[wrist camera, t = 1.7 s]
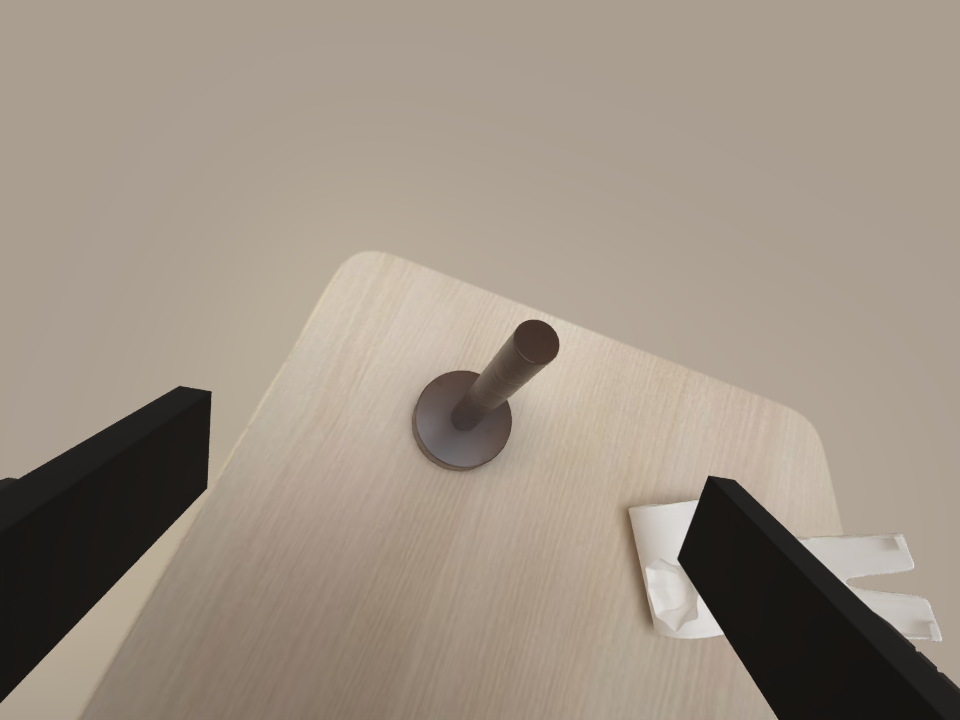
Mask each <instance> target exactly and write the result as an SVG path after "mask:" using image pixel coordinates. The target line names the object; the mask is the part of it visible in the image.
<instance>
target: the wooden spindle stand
mask: <svg viewBox="0 0 960 720" xmlns="http://www.w3.org/2000/svg"><path fill="white" fill-rule="evenodd" d="M558 351H559V339H558V336H557V334H556V332H555V331H554V329H553V328H552V327H551V326H550V325H548V324H547V323H545V322H543V321H540V320H528V321H525V322H523V323H521V324H520V325H519V326H518V327H517V329H516V330H515V331H514V332H513V334H512V335H511V336H510V337H509V339H508V340H507V341H506V343H505V344H504V345H503V346H502V348H501V349H500V350H499V352H498V353H497V354H496V355H495V357H494V358H493V359H492V361H491V362H490V363H489V364H488V366H487V367H486V368H485V370H484V371H483V372H482V373H481V374H478V373H475V372H471V371H453V372H449V373H445V374H443V375H441V376H439V377H437V378H436V379H434V380H433V381H432V382H431V383H429V385H428V386H427V387H426V388H425V389H424V391H423V392H422V394H421V396H420V397H419V400H418V402H417V404H416V407H415V410H414V414H413V422H412V424H413V433H414V437H415V440H416V442H417V444H418V446H419V448H420V449H421V451H422V452H423V453H424V455H425V456H426V457H427V458H428V459H429V460H431V461H432V462H433V463H435V464H436V465H438V466H440V467H443V468H446V469H449V470H455V471H464V470H470V469H474V468H476V467H479V466H481V465H483V464H485V463H487V462H489V461H490V460H492V459H493V458H495V457H496V456H497V455H498V454H499V453H500V452H501V450H502V449H503V448H504V446H505V445H506V443H507V441H508V438H509V435H510V432H511V426H512V417H511V410H510V406H509V404H508V401H507V399H508V398H509V397H510V396H512V395H513V394H514V393H515V392H516V391H517V390H519V389H520V388H521V387H522V386H523V385H524V384H526V383H527V382H528V381H529V380H530V379H531V378H532V377H534V376H535V375H536V374H537V373H538V372H539V371H541V370H542V369H543V368H544V367H545V366H546V365H548V364H549V363H550V362H551V361H552V360H553V359H554V358H555V357H556V356H557V354H558Z"/></svg>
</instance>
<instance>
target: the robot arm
mask: <svg viewBox="0 0 960 720" xmlns="http://www.w3.org/2000/svg"><path fill="white" fill-rule="evenodd" d="M211 393H212V392H211V391H206V390H200V389H194V388H189V387H182V386H179V387H177V388H175V389H173V390H172V391H170V392H168V393H166V394H165V395H163V396H161V397H160V398H158V399H156V400H154V401H153V402H151V403H149V404H147V405H146V406H144V407H142V408H141V409H139V410H137V411H136V412H134V413H132V414H130V415H128V416H127V417H125V418H123V419H122V420H120V421H118V422H116V423H115V424H113V425H111V426H109V427H108V428H106V429H104V430H102V431H101V432H99V433H97V434H95V435H94V436H92V437H90V438H89V439H87V440H85V441H83V442H82V443H80V444H78V445H76V446H75V447H73V448H71V449H70V450H68V451H66V452H64V453H63V454H61V455H59V456H58V457H56V458H54V459H52V460H51V461H49V462H47V463H46V464H44V465H42V466H40V467H38V468H37V469H35V470H33V471H31V472H30V473H28V474H26V475H25V476H23V477H21V478H20V479H14V478H5V479H3V480H0V703H1V702H2V701H3V700H4V699H5V698H6V697H7V696H8V695H9V694H10V692H12V690H13V689H14V688H15V687H16V686H17V685H18V684H19V683H20V682H21V681H22V680H23V679H24V678H25V677H26V676H27V675H28V674H29V673H30V671H32V670H33V669H34V668H35V667H36V666H37V665H38V663H39V662H40V661H41V660H42V659H43V658H44V657H45V656H46V655H47V654H48V653H49V652H50V651H51V650H52V649H53V648H54V647H55V646H56V645H57V644H58V643H59V641H61V640H62V638H63V637H64V636H65V635H66V634H67V633H68V632H69V631H70V630H71V629H72V628H73V627H74V626H75V625H76V624H77V623H78V622H79V621H80V620H81V619H82V618H83V617H84V616H85V615H86V613H88V611H89V610H90V609H91V608H92V607H93V606H94V605H95V604H96V603H97V602H98V601H99V600H100V599H101V598H102V597H103V596H104V595H105V594H106V593H107V592H108V591H109V590H110V589H111V588H112V587H113V586H114V584H115V583H116V582H117V581H118V580H119V579H120V578H121V577H122V576H123V575H124V574H125V573H126V572H127V571H128V570H129V569H130V568H131V567H132V566H133V565H134V564H135V563H136V562H137V561H138V560H139V558H140V557H141V556H142V555H143V554H144V553H145V552H146V551H147V550H148V549H149V548H150V547H151V546H152V545H153V544H154V543H155V542H156V541H157V539H159V538H160V537H161V536H162V535H163V533H164V532H165V531H166V530H167V529H168V528H169V527H170V526H171V525H172V524H173V523H174V522H175V521H176V520H177V519H178V518H179V517H180V516H181V515H182V514H183V513H184V512H185V511H186V509H188V508H189V506H190V505H191V504H192V503H193V502H194V501H195V500H196V499H197V498H198V497H199V496H200V495H201V494H202V493H203V492H204V491H205V490H206V489H207V481H208V458H209V437H210V414H211V413H210V412H211ZM677 560H678V562H679V563H680V565H681V567H682V568H683V570H684V571H685V573H686V574H687V576H688V578H689V579H690V581H691V582H692V584H693V586H694V587H695V589H696V590H697V592H698V593H699V595H700V597H701V598H702V600H703V601H704V603H705V604H706V606H707V608H708V609H709V611H710V612H711V614H712V616H713V617H714V619H715V620H716V622H717V623H718V625H719V627H720V628H721V630H722V631H723V633H724V634H725V636H726V638H727V639H728V641H729V642H730V644H731V645H732V647H733V649H734V650H735V652H736V653H737V655H738V657H739V658H740V660H741V661H742V663H743V664H744V666H745V668H746V669H747V671H748V672H749V674H750V675H751V677H752V679H753V680H754V682H755V683H756V685H757V687H758V688H759V690H760V691H761V693H762V694H763V696H764V698H765V699H766V701H767V702H768V704H769V705H770V707H771V709H772V710H773V712H774V713H775V715H776V717H777V718H778V720H960V689H959V688H958V687H957V686H956V685H955V684H954V683H953V682H952V681H951V680H950V679H949V678H948V677H947V676H946V675H945V674H944V673H940V672H938V671H937V667H936V666H935V665H934V664H933V663H932V662H930V660H929V659H928V658H926V657H925V656H924V655H923V654H922V653H921V652H917V651H916V650H915V646H914V645H913V644H912V643H910V642H909V641H908V640H907V639H906V638H905V637H904V636H903V635H902V634H901V633H900V632H899V631H898V630H897V629H896V628H895V627H893V626H892V625H891V624H890V623H889V622H888V621H886V620H885V619H883V618H882V617H881V616H879V615H878V614H876V613H875V612H873V611H872V610H871V609H870V608H869V607H868V606H867V605H866V604H865V603H864V602H863V601H862V600H860V599H859V598H858V597H857V596H856V595H855V594H854V593H853V592H852V591H851V590H850V589H849V588H848V587H847V586H846V585H845V584H844V583H843V582H842V581H840V580H839V579H838V578H837V577H836V576H835V575H834V574H833V573H832V572H831V571H830V570H829V569H828V568H827V567H826V566H825V565H824V564H823V563H822V562H820V561H819V560H818V559H817V558H816V557H815V556H814V555H813V554H812V553H811V552H810V551H809V550H808V549H807V548H806V547H805V546H804V545H803V544H802V543H800V542H799V541H798V540H797V539H796V538H795V537H794V536H793V535H792V534H791V533H790V532H789V531H788V530H787V529H786V528H785V527H784V526H783V525H782V524H780V523H779V522H778V521H777V520H776V519H775V518H774V517H773V516H772V515H771V514H770V513H769V512H768V511H767V510H766V509H765V508H764V507H763V506H762V505H760V504H759V503H758V502H757V501H756V500H755V499H754V498H753V497H752V496H751V495H750V494H749V493H748V492H747V491H746V490H745V489H744V488H743V487H742V486H740V485H739V484H738V483H737V482H736V481H735V480H732V479H726V478H720V477H714V476H708V478H707V481H706V483H705V486H704V489H703V491H702V494H701V497H700V499H699V502H698V505H697V507H696V510H695V512H694V515H693V518H692V520H691V523H690V526H689V528H688V531H687V534H686V536H685V539H684V541H683V544H682V547H681V549H680V552H679V555H678V557H677Z"/></svg>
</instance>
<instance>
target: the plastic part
mask: <svg viewBox="0 0 960 720" xmlns="http://www.w3.org/2000/svg"><path fill="white" fill-rule="evenodd" d="M698 502H699V499H696V500H691V501H686V502H679V503H672V504H665V505H659V504H650V505H643V506H636V507H631V508H628V509H629V514H630V519H631V523H632V528H633V532H634V537H635V542H636V546H637V551H638V555H639V560H640V564H641V569H642V574H643V578H644V583H645V588H646V592H647V597H648V601H649V606H650V611H651V615H652V620H653V624H654V629H655V632H656V633H658V634H660V635H663V636H666V637H671V638H679V639H699V638H708V637H714V636H719V635H723V634H724V633H723V631H722V630H721V628H720V627H719V625H718V623H717V622H716V620H715V619H714V617H713V616H712V614H711V612H710V611H709V609H708V608H707V606H706V604H705V603H704V601H703V600H702V598H701V597H700V595H699V593H698V592H697V590H696V589H695V587H694V586H693V584H692V582H691V581H690V579H689V578H688V576H687V574H686V573H685V571H684V570H683V568H682V567H681V565H680V563H679V562H678V560H677V557H678V555H679V552H680V549H681V547H682V544H683V541H684V539H685V536H686V534H687V531H688V528H689V526H690V523H691V520H692V518H693V515H694V512H695V510H696V507H697V505H698ZM796 539H797V540H798V541H799V542H800V543H802V544H803V545H804V546H805V547H806V548H807V549H808V550H809V551H810V552H811V553H812V554H813V555H814V556H815V557H816V558H817V559H818V560H819V561H820V562H822V563H823V564H824V565H825V566H826V567H827V568H828V569H829V570H830V571H831V572H832V573H833V574H834V575H835V576H836V577H837V578H838V579H839V580H840V581H842V582H843V583H844V584H845V585H846V586H847V587H848V588H849V589H850V590H851V591H852V592H853V593H854V594H855V595H856V596H857V597H858V598H859V599H860V600H862V601H863V602H864V603H865V604H866V605H867V606H868V607H869V608H870V609H871V610H872V611H873V612H875V613H876V614H878V615H879V616H881V617H882V618H883V619H885V620H886V621H888V622H889V623H890V624H891V625H892V626H893V627H895V628H896V629H897V630H898V631H899V632H900V633H901V634H902V635H903V636H904V637H905V638H906V639H923V640H924V639H925V640H933V641H937V642H942V635H941V632H940V630H939V627H938V625H937V622H936V619H935V617H934V614H933V611H932V609H931V606H930V604H929V601H928V600H927V599H925V598H923V597H920V596H915V595H909V594H901V593H890V592H882V591H873V590H866V589H860V588H855V587H852V586H849V585H848V584H847V583H846V580H848V579H851V578H856V577H861V576H870V575H879V574H888V573H897V572H904V571H909V570H912V569H913V567H914V562H913V560H912V557H911V554H910V552H909V550H908V547H907V545H906V542H905V539H904V536H903V534H902V533H891V534H867V535H843V536H821V537H798V538H796Z"/></svg>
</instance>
